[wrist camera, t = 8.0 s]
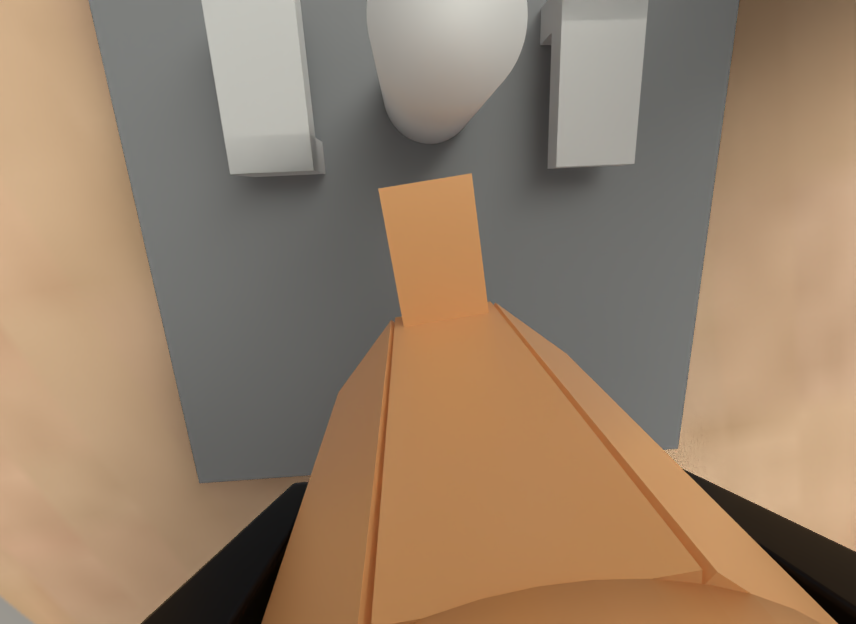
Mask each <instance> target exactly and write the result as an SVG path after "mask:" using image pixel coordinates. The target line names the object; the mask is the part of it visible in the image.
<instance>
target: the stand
mask: <svg viewBox="0 0 856 624" xmlns="http://www.w3.org/2000/svg"><path fill="white" fill-rule="evenodd" d="M89 4H90V9H91V13H92V17H93V22H94V26H95V31H96V35H97V39H98V44H99V48H100V52H101V57H102V61H103V65H104V70H105V74H106V78H107V83H108V87H109V92H110V96H111V100H112V105H113V109H114V113H115V118H116V122H117V126H118V131H119V135H120V140H121V144H122V148H123V153H124V157H125V161H126V166H127V170H128V174H129V179H130V183H131V187H132V192H133V196H134V201H135V205H136V209H137V214H138V218H139V222H140V227H141V231H142V235H143V240H144V244H145V248H146V253H147V257H148V262H149V266H150V270H151V275H152V279H153V283H154V288H155V292H156V296H157V301H158V305H159V309H160V314H161V318H162V323H163V327H164V331H165V336H166V340H167V344H168V349H169V353H170V357H171V362H172V366H173V370H174V375H175V379H176V384H177V388H178V392H179V397H180V401H181V405H182V410H183V414H184V418H185V423H186V427H187V431H188V436H189V440H190V445H191V449H192V453H193V458H194V462H195V466H196V471H197V475H198V479H199V483H210V482H224V481H238V480H251V479H265V478H279V477H293V476H307V475H311V473H312V470H313V467H314V464H315V461H316V458H317V455H318V452H319V449H320V446H321V443H322V440H323V437H324V434H325V431H326V428H327V425H328V422H329V419H330V416H331V413H332V410H333V407H334V404H335V401H336V398H337V395H338V392H339V391H340V390H341V388H342V387H343V385H344V384H345V383H346V381H347V380H348V379H349V377H350V376H351V374H352V373H353V372H354V370H355V369H356V368H357V366H358V365H359V363H360V362H361V361H362V359H363V358H364V357H365V355H366V354H367V352H368V351H369V350H370V348H371V347H372V346H373V344H374V343H375V341H376V340H377V339H378V337H379V336H380V335H381V333H382V332H383V330H384V329H385V328H386V326H387V325H388V324H389V322H390V321H391V320H392V321H393V322H395V317H401V316H402V314H401V309H400V304H399V298H398V293H397V287H396V282H395V277H394V271H393V266H392V260H391V255H390V249H389V244H388V239H387V233H386V228H385V222H384V217H383V212H382V206H381V201H380V195H379V190H378V189H379V188H385V187H391V186H397V185H403V184H409V183H415V182H421V181H427V180H433V179H440V178H446V177H452V176H458V175H464V174H470V173H472V179H473V187H474V196H475V204H476V212H477V220H478V228H479V237H480V245H481V253H482V261H483V269H484V278H485V286H486V294H487V302H490V301H491V303H492V304H493V305H494V303H497V304H498V305H499V306H501V307H502V308H504V309H505V310H506V311H508V312H509V313H511V314H512V315H513V316H515V317H516V318H518V319H519V320H520V321H522V322H523V323H525V324H526V325H527V326H529V327H530V328H531V329H533V330H534V331H536V332H537V333H538V334H540V335H541V336H543V337H544V338H545V339H547V340H548V341H550V342H551V343H552V344H554V345H555V346H557V347H558V348H559V349H561V350H562V351H563V352H565V353H566V354H567V355H568V356H569V357H570V358H571V359H572V360H573V361H574V362H575V363H576V364H577V365H578V366H579V367H580V368H581V369H582V370H583V371H584V372H585V373H586V374H587V375H588V376H590V377H591V378H592V379H593V380H594V381H595V382H596V383H597V384H598V385H599V386H600V387H601V388H602V389H603V390H604V391H605V392H606V393H607V394H608V395H609V396H610V397H611V398H612V399H613V400H614V401H615V402H616V403H617V404H618V405H619V406H620V407H621V408H622V409H623V410H624V411H625V412H626V413H627V414H628V415H629V416H630V417H631V418H632V419H633V420H634V421H635V422H636V423H637V424H638V425H639V426H640V427H641V428H642V429H643V430H644V431H645V432H646V433H647V434H648V435H649V436H650V437H651V438H652V439H653V440H654V441H655V442H656V443H657V444H658V445H659V446H660V447H661V448H662V449H663V450H666V449H678V444H679V437H680V430H681V423H682V415H683V408H684V401H685V393H686V386H687V379H688V372H689V364H690V357H691V350H692V342H693V335H694V328H695V321H696V313H697V306H698V299H699V291H700V284H701V277H702V270H703V262H704V255H705V248H706V240H707V233H708V226H709V219H710V211H711V204H712V197H713V189H714V182H715V175H716V168H717V160H718V153H719V146H720V138H721V131H722V124H723V117H724V109H725V102H726V95H727V87H728V80H729V73H730V65H731V58H732V51H733V44H734V36H735V29H736V22H737V14H738V7H739V0H89Z"/></svg>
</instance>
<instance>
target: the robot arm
mask: <svg viewBox="0 0 856 624" xmlns="http://www.w3.org/2000/svg"><path fill="white" fill-rule="evenodd" d="M683 470H684V469H683ZM684 471H685V472H686V473H687V474H688V475H689V476H690V477H691V478H692V479H693V480H694V481H695V482H696V483H697V484H698V485H699V486H700V487H701V488H702V489H703V490H704V491H705V492H706V493H707V494H708V495H709V496H710V497H711V498H712V499H713V500H714V501H715V502H716V503H717V504H718V505H719V506H720V507H721V508H722V509H723V510H724V511H725V512H726V513H727V514H728V515H729V516H730V517H731V518H732V519H733V520H734V521H735V522H736V523H737V524H738V525H739V526H740V527H741V528H742V529H743V530H744V531H745V532H746V533H747V534H748V535H749V536H750V537H751V538H752V539H753V540H754V541H755V542H756V543H757V544H758V545H759V546H760V547H761V548H762V549H763V550H764V551H765V552H766V553H767V554H768V555H769V556H770V557H772V558H773V559H774V560H775V561H776V562H777V563H778V564H779V565H780V566H781V567H782V568H783V569H784V570H785V571H786V572H787V573H788V574H789V575H790V576H791V577H792V578H793V579H794V580H795V581H796V582H797V583H798V584H799V585H800V586H801V587H802V588H803V589H804V590H805V591H806V592H807V593H808V594H809V595H810V596H811V597H812V598H813V599H814V600H815V601H816V602H817V603H818V604H819V605H820V606H821V607H822V608H823V609H824V610H825V611H826V612H827V613H828V614H829V615H830V616H831V617H832V618H833V619H834V620H835V621H836V622H837V623H838V624H856V552H855V551H853V550H851V549H849V548H847V547H845V546H842V545H840V544H838V543H836V542H834V541H832V540H830V539H828V538H826V537H824V536H822V535H820V534H817V533H815V532H813V531H811V530H809V529H807V528H805V527H803V526H801V525H799V524H797V523H794V522H792V521H790V520H788V519H786V518H784V517H782V516H780V515H778V514H776V513H774V512H771V511H769V510H767V509H765V508H763V507H761V506H759V505H757V504H755V503H753V502H751V501H749V500H746V499H744V498H742V497H740V496H738V495H736V494H734V493H732V492H730V491H728V490H726V489H723V488H721V487H719V486H717V485H715V484H713V483H711V482H709V481H707V480H705V479H703V478H701V477H698V476H696V475H694V474H692V473H690V472H688V471H686V470H684ZM307 485H308V482H302V483H295V484H293V485H292V486H290V487H289V488H288V489H287V490H286V491H285V492H284V493H283V494H282V495H280V496H279V497H278V498H277V499H276V500H275V501H274V502H273V503H272V504H271V505H270V506H268V507H267V508H266V509H265V510H264V511H263V512H262V513H261V514H260V515H259V516H258V517H256V518H255V519H254V520H253V521H252V522H251V523H250V524H249V525H248V526H247V527H246V528H244V529H243V530H242V531H241V532H240V533H239V534H238V535H237V536H236V537H235V538H234V539H232V540H231V541H230V542H229V543H228V544H227V545H226V546H225V547H224V548H223V549H222V550H220V551H219V552H218V553H217V554H216V555H215V556H214V557H213V558H212V559H211V560H210V561H208V562H207V563H206V564H205V565H204V566H203V567H202V568H201V569H200V570H199V571H198V572H196V573H195V574H194V575H193V576H192V577H191V578H190V579H189V580H188V581H187V582H186V583H184V584H183V585H182V586H181V587H180V588H179V589H178V590H177V591H176V592H175V593H173V594H172V595H171V596H170V597H169V598H168V599H167V600H166V601H165V602H164V603H163V604H161V605H160V606H159V607H158V608H157V609H156V610H155V611H154V612H153V613H152V614H151V615H149V616H148V617H147V618H146V619H145V620H144V621H143V622H142V623H141V624H261V623H262V620H263V617H264V614H265V611H266V608H267V605H268V602H269V599H270V596H271V593H272V590H273V587H274V584H275V581H276V578H277V575H278V572H279V569H280V566H281V563H282V560H283V557H284V554H285V551H286V548H287V545H288V542H289V539H290V536H291V533H292V530H293V527H294V524H295V521H296V518H297V515H298V512H299V509H300V506H301V503H302V500H303V497H304V494H305V491H306V488H307Z"/></svg>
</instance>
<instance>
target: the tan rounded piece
mask: <svg viewBox="0 0 856 624" xmlns="http://www.w3.org/2000/svg"><path fill="white" fill-rule="evenodd" d="M378 190H379V195H380V201H381V206H382V212H383V217H384V222H385V228H386V233H387V239H388V244H389V249H390V255H391V260H392V266H393V271H394V277H395V282H396V287H397V293H398V298H399V304H400V309H401V314H402V316H401V317H395V322H393V321H392V320H391V321H390V322H389V324H388V325H387V326H386V328H385V329H384V330H383V332H382V333H381V335H380V336H379V337H378V339H377V340H376V341H375V343H374V344H373V346H372V347H371V348H370V350H369V351H368V352H367V354H366V355H365V357H364V358H363V359H362V361H361V362H360V363H359V365H358V366H357V368H356V369H355V370H354V372H353V373H352V374H351V376H350V377H349V379H348V380H347V381H346V383H345V384H344V385H343V387H342V388H341V390H340V391H339V392H338V395H337V398H336V401H335V404H334V407H333V410H332V413H331V416H330V419H329V422H328V425H327V428H326V431H325V434H324V437H323V440H322V443H321V446H320V449H319V452H318V455H317V458H316V461H315V464H314V467H313V470H312V473H311V476H310V479H309V482H308V485H307V488H306V491H305V494H304V497H303V500H302V503H301V506H300V509H299V512H298V515H297V518H296V521H295V524H294V527H293V530H292V533H291V536H290V539H289V542H288V545H287V548H286V551H285V554H284V557H283V560H282V563H281V566H280V569H279V572H278V575H277V578H276V581H275V584H274V587H273V590H272V593H271V596H270V599H269V602H268V605H267V608H266V611H265V614H264V617H263V620H262V623H261V624H838V623H837V622H836V621H835V620H834V619H833V618H832V617H831V616H830V615H829V614H828V613H827V612H826V611H825V610H824V609H823V608H822V607H821V606H820V605H819V604H818V603H817V602H816V601H815V600H814V599H813V598H812V597H811V596H810V595H809V594H808V593H807V592H806V591H805V590H804V589H803V588H802V587H801V586H800V585H799V584H798V583H797V582H796V581H795V580H794V579H793V578H792V577H791V576H790V575H789V574H788V573H787V572H786V571H785V570H784V569H783V568H782V567H781V566H780V565H779V564H778V563H777V562H776V561H775V560H774V559H773V558H772V557H770V556H769V555H768V554H767V553H766V552H765V551H764V550H763V549H762V548H761V547H760V546H759V545H758V544H757V543H756V542H755V541H754V540H753V539H752V538H751V537H750V536H749V535H748V534H747V533H746V532H745V531H744V530H743V529H742V528H741V527H740V526H739V525H738V524H737V523H736V522H735V521H734V520H733V519H732V518H731V517H730V516H729V515H728V514H727V513H726V512H725V511H724V510H723V509H722V508H721V507H720V506H719V505H718V504H717V503H716V502H715V501H714V500H713V499H712V498H711V497H710V496H709V495H708V494H707V493H706V492H705V491H704V490H703V489H702V488H701V487H700V486H699V485H698V484H697V483H696V482H695V481H694V480H693V479H692V478H691V477H690V476H689V475H688V474H687V473H686V472H685V471H684V470H683V469H682V468H681V467H680V466H679V465H678V464H677V463H676V462H675V461H674V460H673V459H672V458H671V457H670V456H669V455H668V454H667V453H666V452H665V451H664V450H663V449H662V448H661V447H660V446H659V445H658V444H657V443H656V442H655V441H654V440H653V439H652V438H651V437H650V436H649V435H648V434H647V433H646V432H645V431H644V430H643V429H642V428H641V427H640V426H639V425H638V424H637V423H636V422H635V421H634V420H633V419H632V418H631V417H630V416H629V415H628V414H627V413H626V412H625V411H624V410H623V409H622V408H621V407H620V406H619V405H618V404H617V403H616V402H615V401H614V400H613V399H612V398H611V397H610V396H609V395H608V394H607V393H606V392H605V391H604V390H603V389H602V388H601V387H600V386H599V385H598V384H597V383H596V382H595V381H594V380H593V379H592V378H591V377H590V376H588V375H587V374H586V373H585V372H584V371H583V370H582V369H581V368H580V367H579V366H578V365H577V364H576V363H575V362H574V361H573V360H572V359H571V358H570V357H569V356H568V355H567V354H566V353H565V352H563V351H562V350H561V349H559V348H558V347H557V346H555V345H554V344H552V343H551V342H550V341H548V340H547V339H545V338H544V337H543V336H541V335H540V334H538V333H537V332H536V331H534V330H533V329H531V328H530V327H529V326H527V325H526V324H525V323H523V322H522V321H520V320H519V319H518V318H516V317H515V316H513V315H512V314H511V313H509V312H508V311H506V310H505V309H504V308H502V307H501V306H499V305H498V304H497V303H494V305H493V304H492V303H491V301H490V302H487V294H486V286H485V278H484V269H483V261H482V253H481V245H480V237H479V228H478V220H477V212H476V204H475V196H474V187H473V179H472V173H470V174H464V175H458V176H452V177H446V178H440V179H433V180H427V181H421V182H415V183H409V184H403V185H397V186H391V187H385V188H379V189H378Z"/></svg>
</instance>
